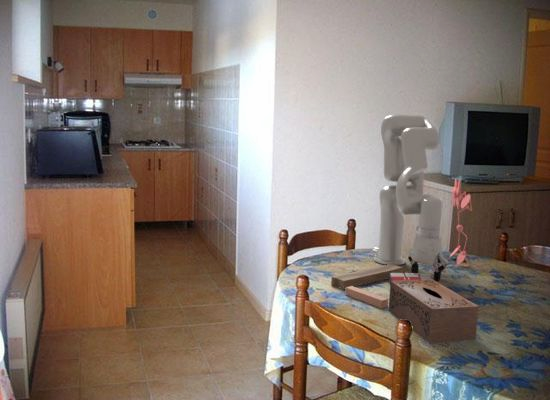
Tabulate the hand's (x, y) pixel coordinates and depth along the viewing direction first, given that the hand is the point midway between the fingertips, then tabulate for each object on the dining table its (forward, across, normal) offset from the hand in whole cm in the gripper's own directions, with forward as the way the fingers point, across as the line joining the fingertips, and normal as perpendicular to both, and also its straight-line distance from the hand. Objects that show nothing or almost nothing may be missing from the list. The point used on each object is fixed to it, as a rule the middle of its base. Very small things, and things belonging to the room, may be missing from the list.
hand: (425, 278), depth 219 cm
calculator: (+3, -1, -6) cm, 7 cm away
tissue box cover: (+3, +26, -32) cm, 41 cm away
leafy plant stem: (+2, -14, +36) cm, 38 cm away
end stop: (+2, 0, -32) cm, 32 cm away
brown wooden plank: (+2, -15, -14) cm, 21 cm away
